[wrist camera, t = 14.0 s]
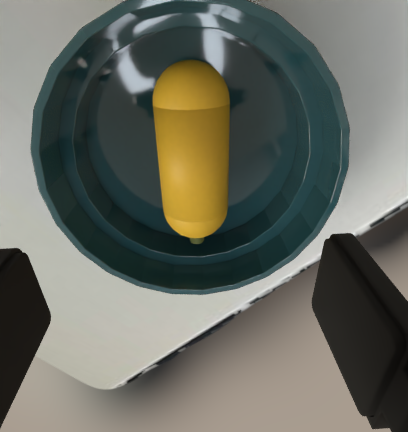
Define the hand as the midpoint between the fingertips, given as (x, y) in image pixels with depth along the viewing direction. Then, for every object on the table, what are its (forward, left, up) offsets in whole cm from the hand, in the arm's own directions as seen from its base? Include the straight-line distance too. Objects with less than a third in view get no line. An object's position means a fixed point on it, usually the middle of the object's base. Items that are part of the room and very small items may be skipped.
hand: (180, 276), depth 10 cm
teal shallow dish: (+1, +1, -17) cm, 17 cm away
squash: (+1, 0, -16) cm, 16 cm away
